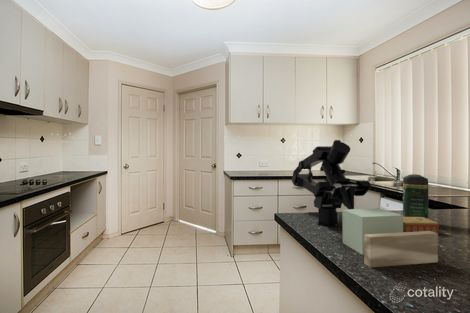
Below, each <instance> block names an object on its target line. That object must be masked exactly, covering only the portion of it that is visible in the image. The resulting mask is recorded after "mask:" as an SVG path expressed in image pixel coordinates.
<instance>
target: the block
mask: <svg viewBox="0 0 470 313" xmlns="http://www.w3.org/2000/svg"><path fill="white" fill-rule="evenodd" d="M341 213H342V214H341V216H342V220H341V221H342V244H343V245H345V246H347V247H348V248H350V249H352V250H353V251H355V252H357V253H358V254H360V255H362V256H364V235H366V234H384V233H402V232H403V214H400V213H397V212H393V211H391V210H387V209H383V208H380V207H379V208H354V209H348V208H347V209H342V212H341Z"/></svg>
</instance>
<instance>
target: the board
mask: <svg viewBox="0 0 470 313" xmlns="http://www.w3.org/2000/svg"><path fill="white" fill-rule="evenodd" d="M438 237H439V234H438V233H435V232H432V231H420V232H402V233H384V234H366V235H364V255H363V256H364V258H363V259H364V261H363V262H364V265H365V266H367V267H368V268H378V267H379V268H380V267H394V266H405V265H419V264H421V265H422V264H431V263H432V264H433V263H438V262H439V253H438V252H439V246H438V245H439V241H438V240H439V238H438Z"/></svg>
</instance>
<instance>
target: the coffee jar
mask: <svg viewBox="0 0 470 313" xmlns="http://www.w3.org/2000/svg"><path fill="white" fill-rule="evenodd" d="M429 196H430V194H429V179H428V178H427V177H425V176H423V175H421V174H415V173H414V174H412V173H411V174H408V175H405V176H404V177H403V179H402V215H403V217H424V218H427V219H429Z"/></svg>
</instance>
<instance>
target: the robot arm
mask: <svg viewBox="0 0 470 313" xmlns="http://www.w3.org/2000/svg"><path fill="white" fill-rule="evenodd" d="M350 151H351V146H349V145H348V144H346V143H345V142H343V141H341V140H340V139H334V141H333V142H332V145H331V146H322V145H320V146H319V145H318V146H316V147H315V148H314V149H313V150H312V154H310V155H309V156H307V157H306V158H304V159H302V160H300V161H298V164H297V167H296V168H295V169H294V170H293V172H292V176H291V182H292V184H293V186H294V187H297V188H303V189H305V190H307V191H308V192H310V193H312V194H313V196H314V200H313V205H314V206H313V207H315V208H317V211H318V212H317V213H318V216H317V218H318V220H317V224H316V225H320V226H327V227H337V225H338V224H339V211H337V209H342V205H344V207H345V208H347V209H355V197H363V196H365V195H366V194H367V193H368V191H370V189H371V188H372V184H371V182H370V181H369V180H356V181H355V183H354V184H350V182H351V180H350V178H346V175H345V174H346V170H345V169H342V168H341V166H340V165H341V164H343V163H344V162H345V160H346V159H347V157H348V155H349V153H350ZM320 163H321V166H320V168H319V171H320V172H324V174H325V176H326V178H325V181H317V182H316V181H315V180H314V179H313V178H314V177H313V176H314V175H313V172H312V168H313V167H315V166H317V165H319V164H320ZM302 170H308V173H301V172H302Z"/></svg>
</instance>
